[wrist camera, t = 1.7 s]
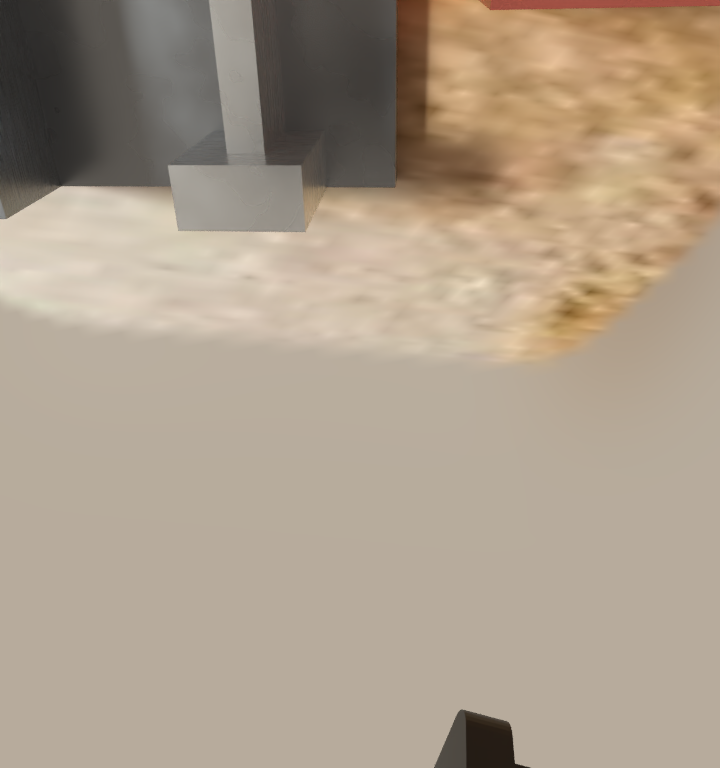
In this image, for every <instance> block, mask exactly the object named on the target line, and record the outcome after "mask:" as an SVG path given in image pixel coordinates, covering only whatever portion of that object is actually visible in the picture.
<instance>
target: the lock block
mask: <svg viewBox="0 0 720 768" xmlns="http://www.w3.org/2000/svg"><path fill="white" fill-rule="evenodd" d="M479 1H480V2H481V3H483V4H484V5H485V6H486V7H487V8H489V9H490V10H510V9H564V8H617V7H671V6H720V0H479Z"/></svg>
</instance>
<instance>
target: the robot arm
mask: <svg viewBox="0 0 720 768" xmlns="http://www.w3.org/2000/svg"><path fill="white" fill-rule="evenodd" d="M434 768H529V767H525V766H522V765H518V764H515V761H514V750H513V737H512V730H511V726H510V724H509V722H507V721H504V720H499V719H496V718H491V717H488V716H485V715H481V714H477V713H473V712H470V711H466V710H460V711H459V712H458V714H457V716H456V718H455V720H454V723H453V725H452V727H451V730H450V732H449V735H448V737H447V739H446V741H445V744H444V746H443V748H442V751H441V753H440V755H439V758H438V760H437V762H436V765H435V767H434Z"/></svg>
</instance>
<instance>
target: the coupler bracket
mask: <svg viewBox="0 0 720 768" xmlns="http://www.w3.org/2000/svg"><path fill="white" fill-rule="evenodd" d="M397 21H398V0H0V219H7V218H9V217H10V216H12V215H14V214H15V213H17V212H19V211H20V210H22V209H24V208H26V207H27V206H29V205H31V204H32V203H34V202H36V201H37V200H39V199H41V198H42V197H44V196H46V195H47V194H49V193H51V192H52V191H54V190H56V189H57V188H59V187H61V186H171V188H172V195H173V201H174V207H175V213H176V219H177V225H178V231H249V232H306V230H307V228H308V226H309V224H310V222H311V220H312V217H313V215H314V213H315V211H316V209H317V207H318V205H319V203H320V201H321V199H322V197H323V195H324V193H325V191H326V189H327V187H395V186H396V180H397Z"/></svg>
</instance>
